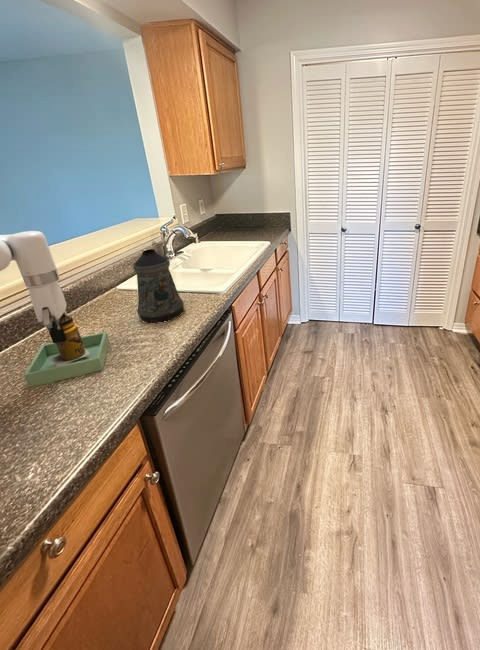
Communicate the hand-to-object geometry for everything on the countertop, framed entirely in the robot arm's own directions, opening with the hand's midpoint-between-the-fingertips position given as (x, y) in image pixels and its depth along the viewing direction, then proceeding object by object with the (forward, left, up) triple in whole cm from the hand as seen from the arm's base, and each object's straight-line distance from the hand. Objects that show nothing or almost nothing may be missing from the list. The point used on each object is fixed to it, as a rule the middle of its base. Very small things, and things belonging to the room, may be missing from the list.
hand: (63, 335), depth 93 cm
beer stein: (+25, +24, -10) cm, 36 cm away
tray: (0, 0, -9) cm, 9 cm away
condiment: (0, 0, -7) cm, 7 cm away
